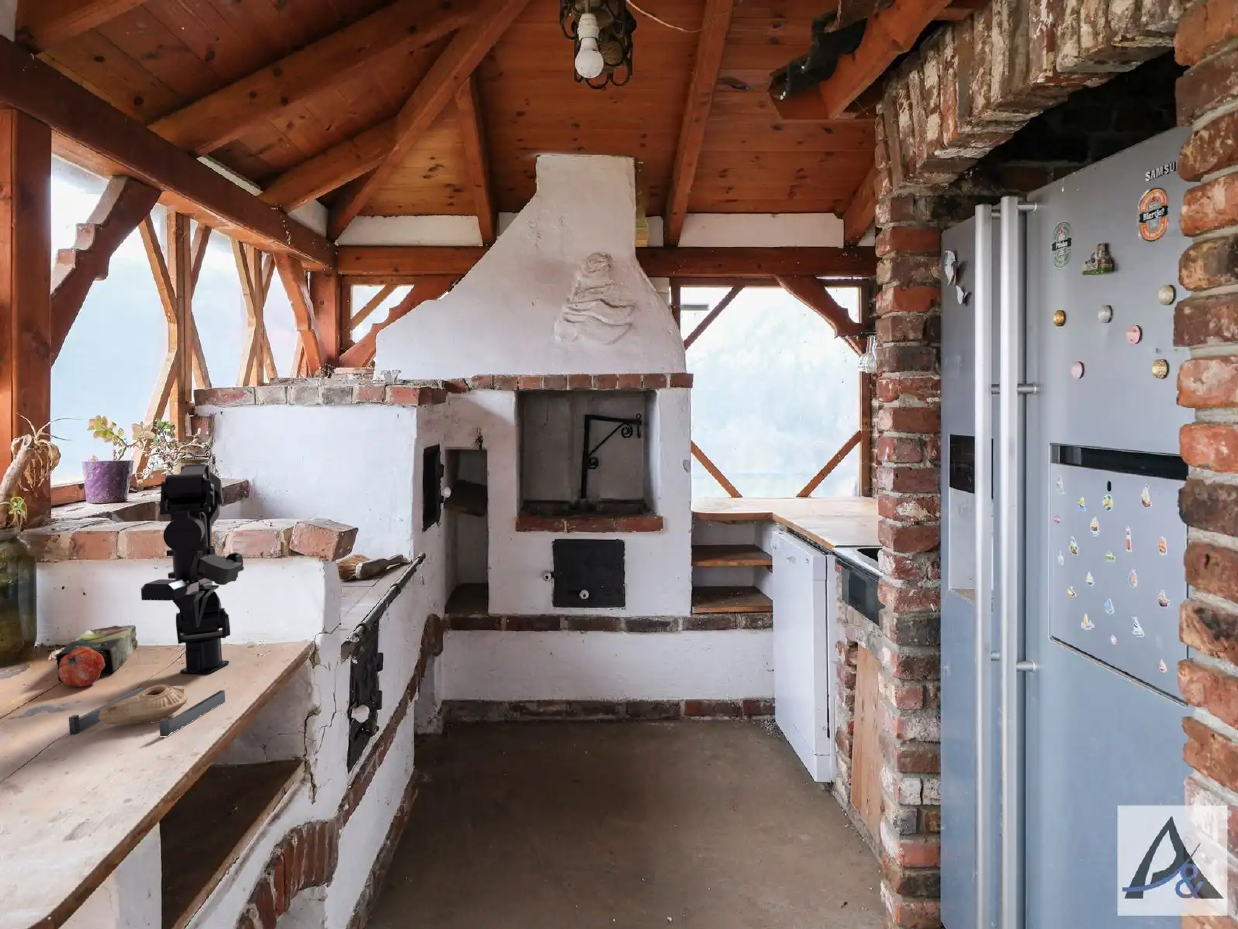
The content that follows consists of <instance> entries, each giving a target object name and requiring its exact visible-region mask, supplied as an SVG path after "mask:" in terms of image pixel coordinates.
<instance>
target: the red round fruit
mask: <svg viewBox="0 0 1238 929" xmlns="http://www.w3.org/2000/svg"><path fill="white" fill-rule="evenodd" d="M105 663H106V662H105V659H104V657H103V654H101V652H96V651H94V650H93V649H91V648H89V647H80V648H77V649H74V650H72V651H71V652H70V653H69V654H68V655H66V656H64V657H63V658H62V659H61V661H60V664H59V669H57V675H58V674H59V677H60V679H61V681H62V683H63V684H64V685H67V686H68V687H72V688H73V687H88V686H92V685H93V684H94V683H95V682H96V681H98V679H100V676H101V671H102V670H103V669H104V667H105Z"/></svg>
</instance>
